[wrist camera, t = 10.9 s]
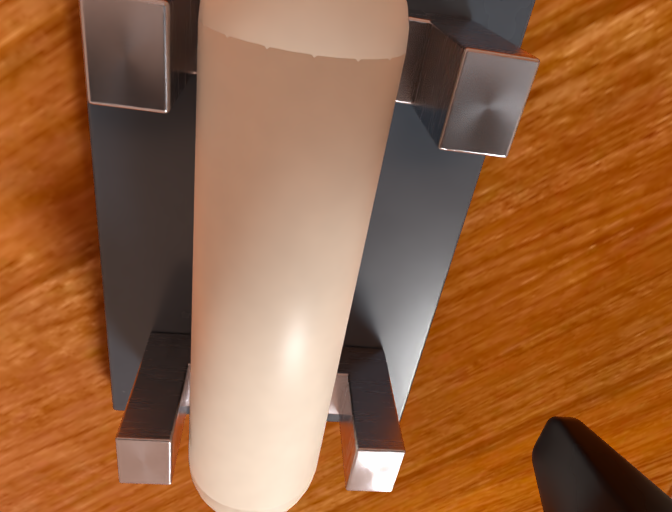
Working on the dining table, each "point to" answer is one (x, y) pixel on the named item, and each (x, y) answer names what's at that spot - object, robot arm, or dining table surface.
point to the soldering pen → (280, 228)
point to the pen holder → (382, 236)
